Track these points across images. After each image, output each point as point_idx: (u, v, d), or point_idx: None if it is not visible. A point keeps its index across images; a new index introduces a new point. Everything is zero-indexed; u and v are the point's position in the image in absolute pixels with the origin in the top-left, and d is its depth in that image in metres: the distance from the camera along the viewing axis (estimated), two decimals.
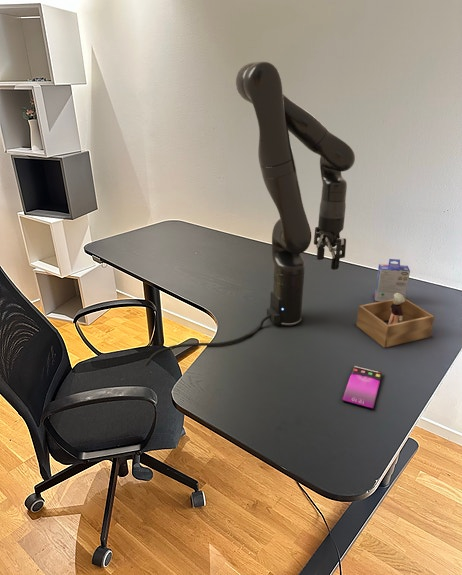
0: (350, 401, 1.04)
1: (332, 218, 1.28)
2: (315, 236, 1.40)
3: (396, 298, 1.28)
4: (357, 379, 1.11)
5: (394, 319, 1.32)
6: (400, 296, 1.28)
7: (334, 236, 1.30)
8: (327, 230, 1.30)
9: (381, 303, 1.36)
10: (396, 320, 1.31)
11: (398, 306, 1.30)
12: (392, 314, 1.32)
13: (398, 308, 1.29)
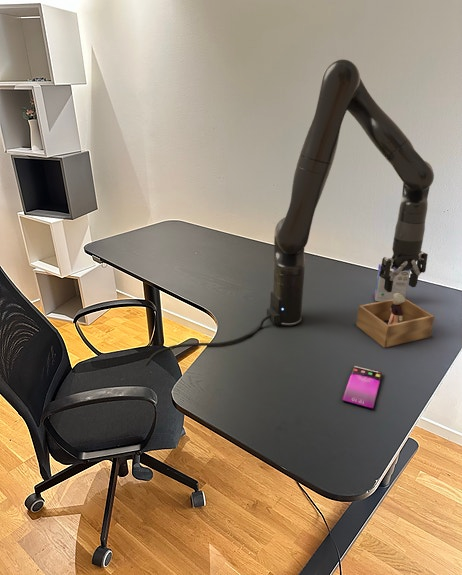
0: (350, 401, 1.04)
1: (394, 236, 1.22)
2: None
3: (396, 298, 1.28)
4: (357, 379, 1.11)
5: (394, 319, 1.32)
6: (400, 296, 1.28)
7: (392, 256, 1.23)
8: None
9: (381, 303, 1.36)
10: (396, 320, 1.31)
11: (398, 306, 1.30)
12: (392, 314, 1.32)
13: (398, 308, 1.29)
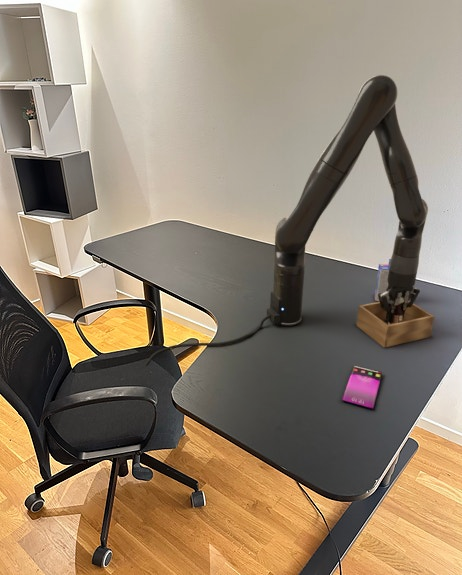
0: (350, 401, 1.04)
1: (389, 268, 1.26)
2: None
3: None
4: (357, 379, 1.11)
5: (394, 319, 1.32)
6: None
7: None
8: None
9: None
10: (396, 320, 1.31)
11: (398, 306, 1.30)
12: None
13: (398, 308, 1.29)
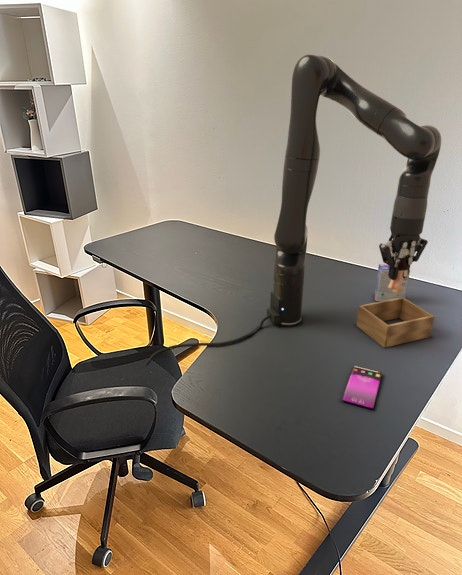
0: (350, 401, 1.04)
1: (392, 213, 1.07)
2: None
3: None
4: (357, 379, 1.11)
5: (397, 276, 1.13)
6: None
7: (389, 238, 1.09)
8: (390, 227, 1.10)
9: (381, 303, 1.36)
10: (400, 276, 1.12)
11: (402, 259, 1.11)
12: None
13: (402, 262, 1.10)
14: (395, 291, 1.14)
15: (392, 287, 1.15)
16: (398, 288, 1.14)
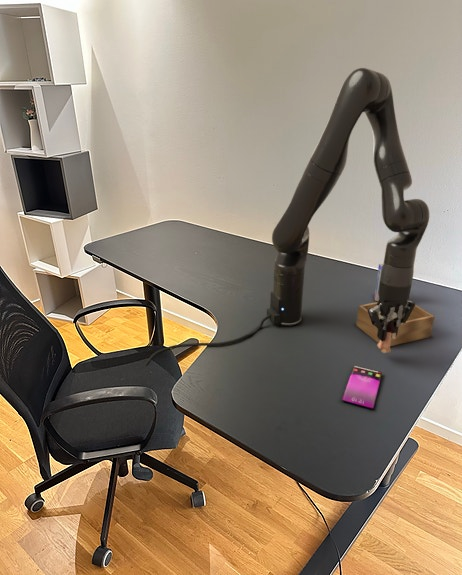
0: (350, 401, 1.04)
1: (380, 279, 1.11)
2: None
3: None
4: (357, 379, 1.11)
5: (386, 337, 1.16)
6: None
7: (377, 302, 1.12)
8: (378, 291, 1.13)
9: None
10: (389, 338, 1.15)
11: (390, 322, 1.14)
12: None
13: (390, 324, 1.13)
14: (384, 351, 1.17)
15: (381, 347, 1.18)
16: (386, 348, 1.17)
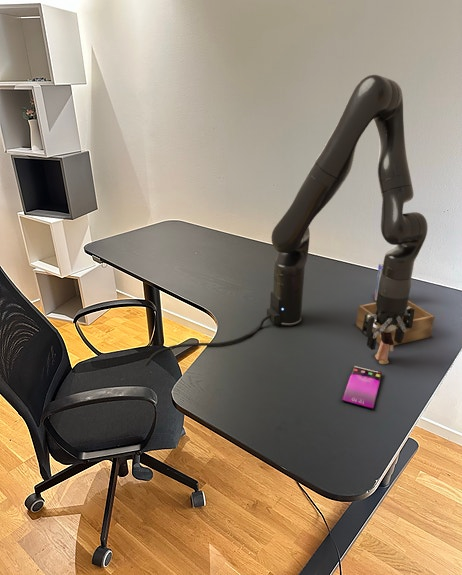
0: (350, 401, 1.04)
1: (378, 290, 1.12)
2: None
3: None
4: (357, 379, 1.11)
5: (384, 348, 1.17)
6: None
7: (376, 311, 1.13)
8: None
9: None
10: (386, 349, 1.17)
11: (388, 334, 1.16)
12: (382, 342, 1.17)
13: (388, 336, 1.15)
14: (381, 362, 1.19)
15: (379, 358, 1.19)
16: (384, 360, 1.19)
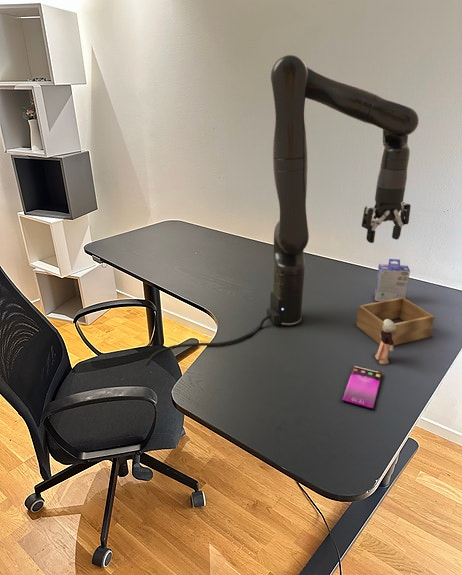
0: (350, 401, 1.04)
1: (377, 185, 1.22)
2: None
3: (386, 325, 1.14)
4: (357, 379, 1.11)
5: (384, 348, 1.17)
6: (391, 323, 1.14)
7: None
8: None
9: (381, 303, 1.36)
10: (386, 349, 1.17)
11: (388, 334, 1.16)
12: (382, 342, 1.17)
13: (388, 336, 1.15)
14: (381, 362, 1.19)
15: (379, 358, 1.19)
16: (384, 360, 1.19)
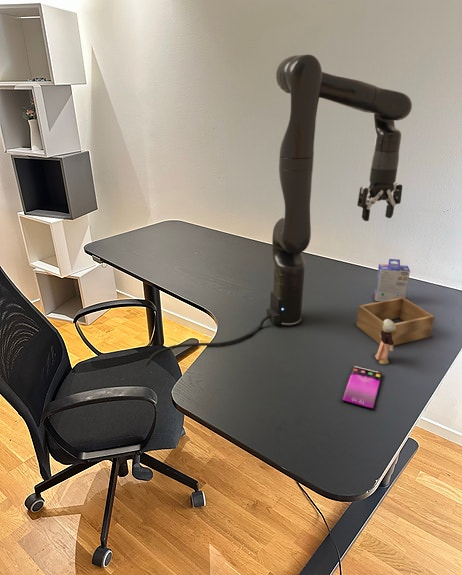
0: (350, 401, 1.04)
1: (371, 166, 1.32)
2: None
3: (386, 325, 1.14)
4: (357, 379, 1.11)
5: (384, 348, 1.17)
6: (391, 323, 1.14)
7: (369, 186, 1.33)
8: None
9: (381, 303, 1.36)
10: (386, 349, 1.17)
11: (388, 334, 1.16)
12: (382, 342, 1.17)
13: (388, 336, 1.15)
14: (381, 362, 1.19)
15: (379, 358, 1.19)
16: (384, 360, 1.19)
